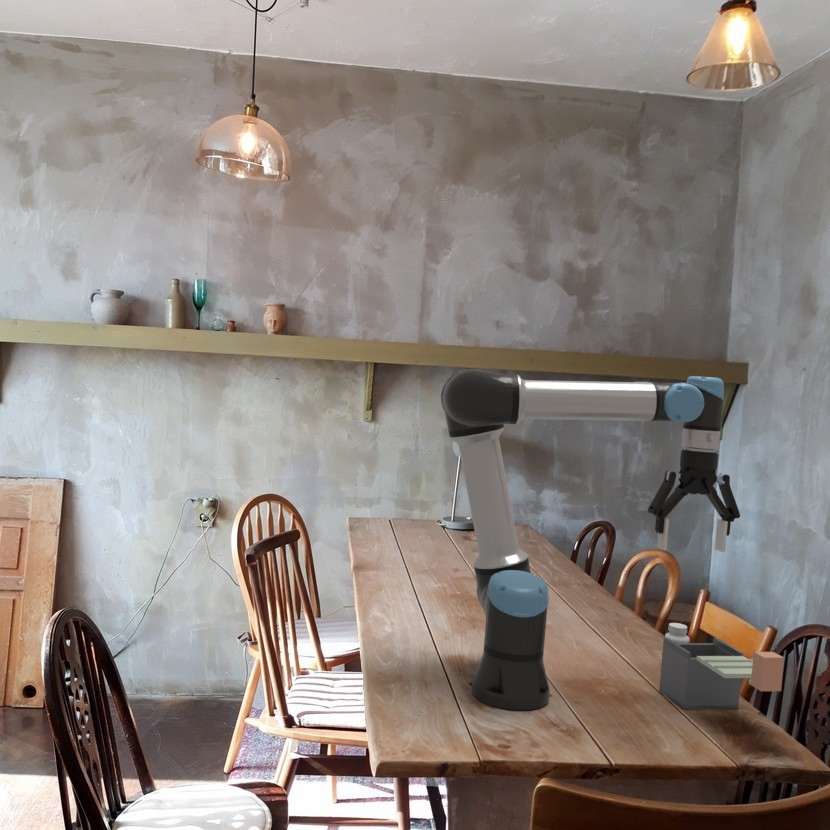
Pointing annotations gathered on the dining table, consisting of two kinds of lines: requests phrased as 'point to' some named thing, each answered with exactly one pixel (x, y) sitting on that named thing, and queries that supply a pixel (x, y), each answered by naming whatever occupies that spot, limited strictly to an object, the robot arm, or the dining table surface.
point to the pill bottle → (677, 633)
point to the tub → (697, 676)
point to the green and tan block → (749, 668)
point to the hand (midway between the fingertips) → (690, 549)
